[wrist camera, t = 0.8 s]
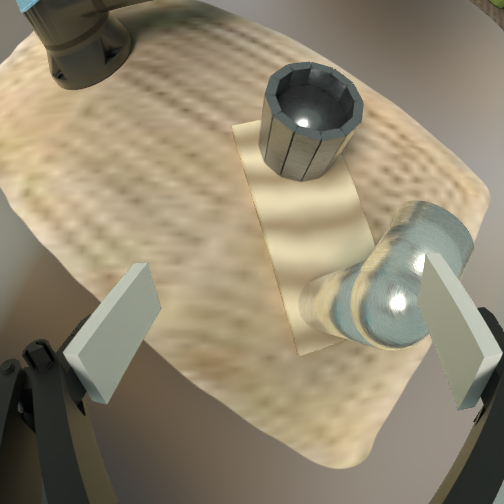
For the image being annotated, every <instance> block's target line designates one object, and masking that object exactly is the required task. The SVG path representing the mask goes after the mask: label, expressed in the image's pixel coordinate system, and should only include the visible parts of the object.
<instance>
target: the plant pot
mask: <svg viewBox="0 0 504 504" xmlns="http://www.w3.org/2000/svg"><path fill="white" fill-rule="evenodd" d="M489 1H490V2H491V3H492V4H493V5H495V6H497V7H498V8H500V9H502V8H503V7H504V0H489Z"/></svg>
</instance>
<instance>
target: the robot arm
mask: <svg viewBox="0 0 504 504" xmlns="http://www.w3.org/2000/svg"><path fill="white" fill-rule="evenodd" d="M16 1H17V4H18V5H19V8H20V12H22V13H23V14H24V16H25V17H26V19H27V21H28V22H29V24H30V25H31V27H32V28H33V30H34V31H35V33H36V34H37V36H38V37H39V39H40V40H41V42H42V43H43V45H44V46H45V48H46V50H47V56H48V62H49V68H50V73H51V75H52V77H53V78H54V80H55V81H56V83H57V84H58V85H59V86H60V87H62V88H65V89H70V90H75V89H82V88H86V87H89V86H91V85H94V84H96V83H98V82H100V81H102V80H103V79H105V78H107V77H108V76H109V75H111V74H112V73H113V72H115V71H116V70H117V69H118V68H119V67H120V66H121V65H122V63H123V62H124V61H125V60H126V58H127V56H128V55H129V52H130V50H131V39H130V36H129V33H128V31H127V29H126V28H125V27H124V26H123V25H122V24H121V23H120V22H119V21H118V20H117V19H116V18H115V17H114V16H113V15H112V14H111V13H110V12H109V11H110V10H114V9H117V8H121V7H125V6H129V5H134V4H138V3H142V2H147V1H152V0H16ZM417 305H418V307H419V310H420V312H421V314H422V316H423V319H424V321H425V324H426V326H427V328H428V331H429V333H430V336H431V338H432V341H433V343H434V345H435V348H436V351H437V354H438V356H439V359H440V361H441V364H442V367H443V369H444V372H445V375H446V378H447V381H448V384H449V387H450V389H451V393H452V396H453V399H454V402H455V405H456V408H457V410H463V409H468V408H472V407H475V405H476V404H477V402H478V400H479V398H480V397H481V399H482V401H483V404H484V405H483V407H482V409H481V410H480V412H479V413H478V415H477V416H476V418H475V419H474V421H473V422H475V423H474V426H473V427H472V430H471V432H470V434H469V436H468V438H467V440H466V442H465V444H464V446H463V448H462V449H461V451H460V453H459V455H458V457H457V459H456V460H455V462H454V464H453V466H452V468H451V469H450V471H449V473H448V474H447V476H446V478H445V479H444V481H443V483H442V484H441V486H440V487H439V489H438V490H437V492H436V494H435V495H434V497H433V498H432V500H431V501H430V503H429V504H492V503H493V501H494V499H495V497H496V495H497V493H498V491H499V488H500V487H501V484H502V482H503V480H504V332H503V329H502V328H501V326H500V325H499V323H498V321H497V320H496V318H495V316H494V315H493V314H492V313H491V312H490V311H488V310H487V309H486V308H485V307H482V308H476V306H475V304H474V303H473V301H472V300H471V298H470V297H469V295H468V294H467V292H466V290H465V289H464V287H463V286H462V284H461V283H460V281H459V280H458V278H457V277H456V275H455V274H454V273H453V271H452V270H451V268H450V267H449V265H448V264H447V263H446V261H445V260H444V258H443V257H442V256H441V254H440V253H428V254H425V258H424V265H423V271H422V277H421V283H420V289H419V294H418V299H417ZM160 310H161V306H160V302H159V299H158V296H157V293H156V289H155V286H154V283H153V279H152V276H151V272H150V269H149V265H148V263H134V264H133V266H132V267H131V268H130V269H129V270H128V271H127V273H126V274H125V275H124V276H123V277H122V279H121V280H120V281H119V282H118V283H117V285H116V286H115V287H114V288H113V289H112V291H111V292H110V293H109V294H108V295H107V297H106V298H105V299H104V300H103V302H102V303H101V304H100V305H99V306H98V308H97V309H96V310H95V311H94V313H93V314H90V315H88V316H87V317H86V318H84V319H83V320H82V321H81V322H80V323H79V324H78V325H77V327H76V328H75V330H73V332H72V333H71V336H69V337H68V338H67V339H66V341H65V342H64V343H63V344H62V346H61V347H60V348H59V350H58V351H57V352H56V354H55V352H54V351H53V349H52V347H51V345H50V343H49V342H48V341H47V340H44V339H39V340H35V341H33V342H32V343H30V344H29V345H28V346H26V348H25V349H24V351H23V354H22V356H23V357H24V359H25V361H26V362H27V364H28V365H29V367H22V365H21V364H20V362H19V360H17V359H9V360H6V361H5V362H3V363H2V365H1V366H0V504H42V503H41V502H42V501H41V499H42V497H41V496H42V478H43V483H44V488H45V492H46V497H47V501H48V504H119V503H118V501H117V498H116V495H115V493H114V490H113V488H112V485H111V482H110V480H109V477H108V474H107V471H106V469H105V466H104V463H103V460H102V457H101V454H100V450H99V447H98V444H97V441H96V437H95V434H94V431H93V427H92V424H91V420H90V416H89V412H88V408H87V404H86V402H85V400H84V399H83V397H84V395H85V393H86V392H87V393H88V395H89V396H90V398H91V399H92V401H95V402H100V403H103V404H108V402H109V400H110V398H111V396H112V395H113V393H114V391H115V389H116V387H117V385H118V383H119V382H120V380H121V378H122V376H123V374H124V373H125V371H126V369H127V367H128V365H129V363H130V362H131V360H132V358H133V356H134V354H135V353H136V351H137V349H138V348H139V346H140V344H141V342H142V341H143V339H144V337H145V335H146V334H147V332H148V330H149V328H150V327H151V325H152V323H153V321H154V320H155V318H156V316H157V315H158V313H159V311H160ZM18 405H19V406H20V407H21V410H20V413H19V412H18Z"/></svg>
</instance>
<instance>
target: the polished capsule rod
mask: <svg viewBox="0 0 504 504" xmlns="http://www.w3.org/2000/svg"><path fill="white" fill-rule="evenodd" d="M473 251H474V243H473V239H472V237H471V235H470V233H469V231H468V230H467V228H466V227H465V226H464V225H463V223H462V222H461V221H460V220H459V219H458V218H456V217H455V216H454V215H453V214H451V213H450V212H448V211H447V210H445V209H443V208H442V207H439V206H437V205H435V204H432V203H429V202H425V201H410V202H407V203H405V204H404V205H402V207H401V208H400V210H399V211H398V213H397V214H396V216H395V218H394V219H393V221H392V222H391V224H390V225H389V227H388V228H387V230H386V232H385V233H384V235H383V236H382V238H381V239H380V241H379V242H378V244H377V245H376V247H375V248H374V250H373V251H372V253H371V254H370V256H369V257H368V258H367V260H366V261H363V262H361V263H358V264H355V265H352V266H350V267H347V268H344V269H341V270H339V271H336V272H333V273H330V274H327V275H325V276H322V277H319V278H316V279H314V280H312V281H310V282H309V283H308V284H307V285H306V286H305V287H304V288H303V290H302V291H301V293H300V296H299V300H298V308H299V313H300V316H301V318H302V319H303V321H304V322H305V323H306V324H307V325H308V326H309V327H311V328H313V329H315V330H318V331H321V332H324V333H328V334H331V335H335V336H338V337H341V338H345V339H348V340H352V341H355V342H359V343H362V344H366V345H369V346H373V347H376V348H380V349H384V350H402V349H406V348H409V347H412V346H414V345H416V344H418V343H419V342H420V341H422V340H423V339H424V338H425V337H426V336H427V335H428V334H429V331H428V328H427V326H426V324H425V321H424V319H423V316H422V314H421V312H420V310H419V307H418V305H417V299H418V294H419V289H420V283H421V277H422V271H423V265H424V258H425V254H428V253H440V254H441V256H442V257H443V258H444V260H445V261H446V263H447V264H448V265H449V267H450V268H451V270H452V271H453V273H454V274H455V275H456V277H457V278H458V280H459V281H460V279H461V277H462V275H463V273H464V271H465V269H466V267H467V265H468V262H469V260H470V258H471V256H472V254H473Z"/></svg>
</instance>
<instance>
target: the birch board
mask: <svg viewBox="0 0 504 504" xmlns="http://www.w3.org/2000/svg"><path fill="white" fill-rule="evenodd" d="M260 127H261V120H257V121H252V122H247V123H243V124H238V125H234V126H232V133H233V136H234V139H235V143H236V146H237V149H238V152H239V156H240V159H241V162H242V166H243V169H244V172H245V175H246V179H247V182H248V185H249V189H250V192H251V195H252V199H253V202H254V205H255V209H256V212H257V215H258V219H259V222H260V225H261V229H262V232H263V236H264V239H265V242H266V246H267V249H268V252H269V256H270V259H271V263H272V266H273V270H274V273H275V276H276V280H277V283H278V287H279V290H280V294H281V297H282V301H283V304H284V308H285V311H286V315H287V318H288V322H289V325H290V329H291V332H292V336H293V339H294V343H295V346H296V350H297V353H298V355H299V356H302V355H305V354H308V353H311V352H314V351H317V350H320V349H323V348H326V347H329V346H331V345H334V344H337V343H340V342H343V341H345V340H348V339H345V338H341V337H338V336H335V335H331V334H328V333H324V332H321V331H318V330H315V329H313V328H311V327H309V326H308V325H307V324H306V323H305V322H304V321H303V319H302V318H301V316H300V313H299V308H298V300H299V296H300V293H301V291H302V290H303V288H304V287H305V286H306V285H307V284H308V283H309V282H310V281H312V280H314V279H316V278H319V277H322V276H325V275H327V274H330V273H333V272H336V271H339V270H341V269H344V268H347V267H350V266H352V265H355V264H358V263H361V262H363V261H366V260H367V258H368V257H369V256H370V254H371V253H372V251H373V250H374V248H375V244H374V241H373V238H372V234H371V231H370V228H369V225H368V222H367V219H366V217H365V214H364V211H363V208H362V205H361V202H360V199H359V197H358V194H357V191H356V189H355V186H354V183H353V181H352V178H351V175H350V173H349V170H348V168H347V165H346V162H345V160H344V157H343V155H342V153H341V154H340V155H339V157H338V158H337V160H336V161H335V163H334V164H333V166H332V167H331V168H330V169H329V170H328V171H327V172H326V173H325V174H324V175H323V176H322V177H320V178H318V179H313V180H309V181H305V182H301V181H300V182H297V181H294V180H290V179H286V178H282V177H281V175H280V176H278V175H277V174H276V173H275V172H274V171H273V170H272V169H270V168H269V167H268V166H267V165H266V164H265V162H264V161H263V158H262V155H261V152H260V149H259V146H258V142H259V134H260Z"/></svg>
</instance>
